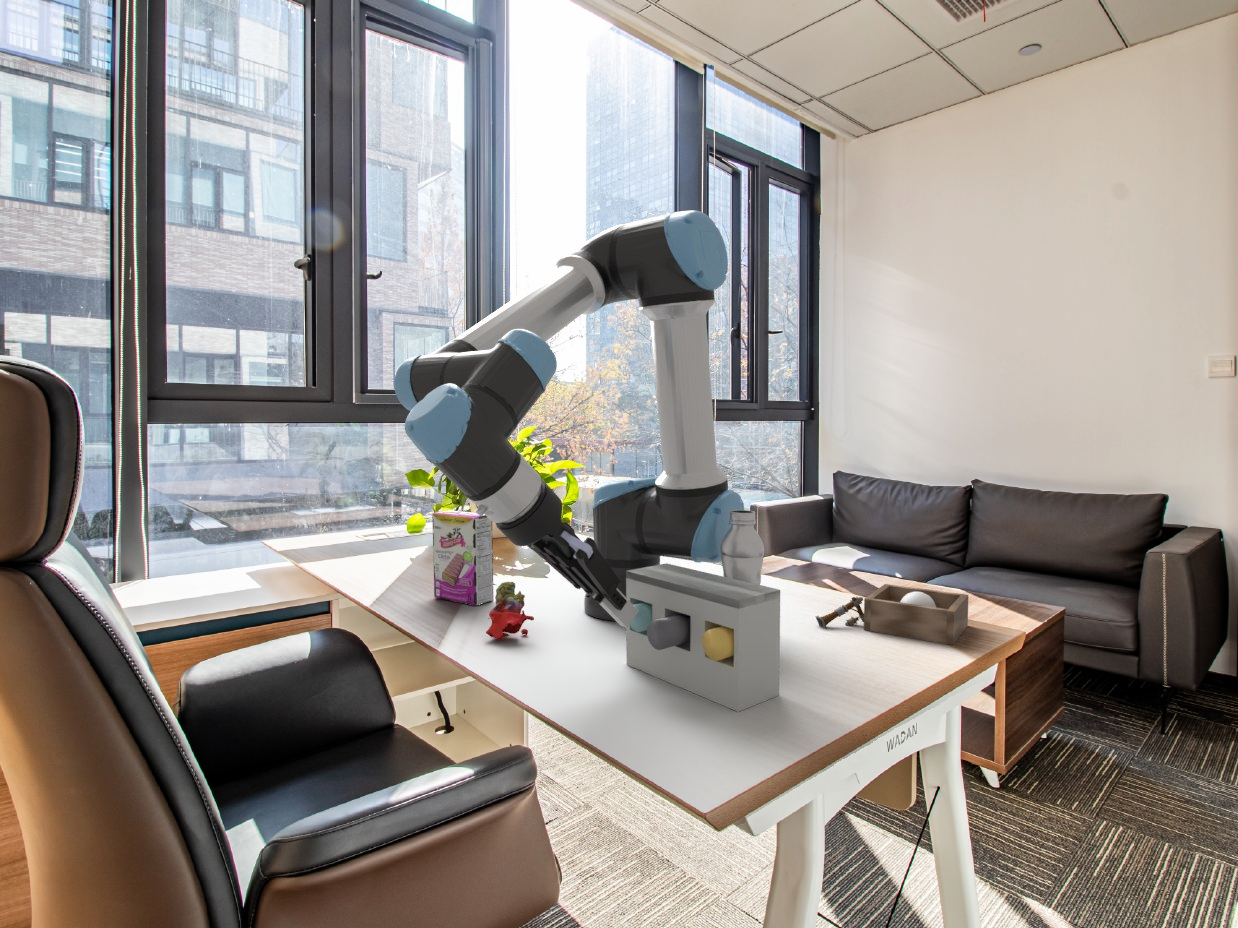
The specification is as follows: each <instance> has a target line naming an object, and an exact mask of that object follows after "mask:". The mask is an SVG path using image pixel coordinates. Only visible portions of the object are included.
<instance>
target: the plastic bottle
mask: <svg viewBox="0 0 1238 928" xmlns="http://www.w3.org/2000/svg"><path fill="white" fill-rule="evenodd" d="M729 524H731V528H730V529H729V531H728V532H727V533H726V535H725V536H724V538H723V539H722V542H721V546H720V551H721V559H722V561H721V564H722V572H723V577H727V578H732V579H736V580H740V581H745V582H749V583H753V584H758V585H761V582H762V571H763V563H764V555H765V545H764V541H763V540H762V538H761V536H760V535H759V533H758V531H757V530H756V529H755V525H756V524H757V521H756V511H754V510H750V509H747V510H746V509H744V510H732V511H730V520H729Z"/></svg>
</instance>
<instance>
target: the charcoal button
mask: <svg viewBox="0 0 1238 928" xmlns="http://www.w3.org/2000/svg"><path fill="white" fill-rule="evenodd" d="M690 635H691V616H689V615H686V614H683V613H681V614H677V615H673V616H669V617H665V618H661V619H657V620H653V621H651V622H650V623H649V625H648V627H647V636H648V640H649V642H650V644H651V645H652V647H653V648H655V649H657V650H662V649H666V648H669V647H672V646H676V645H679V644H683V643H686V642H690Z"/></svg>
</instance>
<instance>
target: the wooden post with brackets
mask: <svg viewBox="0 0 1238 928" xmlns="http://www.w3.org/2000/svg"><path fill="white" fill-rule="evenodd" d="M863 601H864V598H863V597H862V596H859V597H858V596H856V597H855V596H853V597H851V600H850V601H849V602H848V603H846V604H842V605H841V606H839V607H838V608H836V609H834V611H831V613H828V614H825V615H822V616H819V615H816V616H815V619H816V621H817V624H818V626H820V627H823V628H824V630H826V629H827V628H828V627H827V626H828V624H830V623H831V622H833V621H834V620H835V619H836V618H838V617H839V618H841V616H843V615H845V614H846V613H849V611H854V612H855V613H858V616H855V617H854V616H850V618H849V619H846V620H845V621H846V622H845V623H844V625H845V626H847V627H849V626H850V627H852V626H853V625H858V621H859V620H861V622H863V623H864V610H863V609H862V607H861V605H862V604H863ZM855 608H856V609H855Z"/></svg>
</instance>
